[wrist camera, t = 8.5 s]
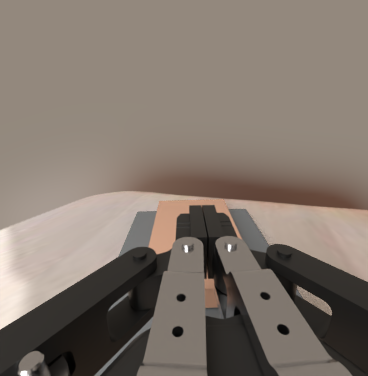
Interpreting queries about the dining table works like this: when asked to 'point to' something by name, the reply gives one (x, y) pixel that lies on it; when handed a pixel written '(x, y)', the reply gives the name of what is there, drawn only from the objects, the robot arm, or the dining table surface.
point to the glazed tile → (166, 232)
